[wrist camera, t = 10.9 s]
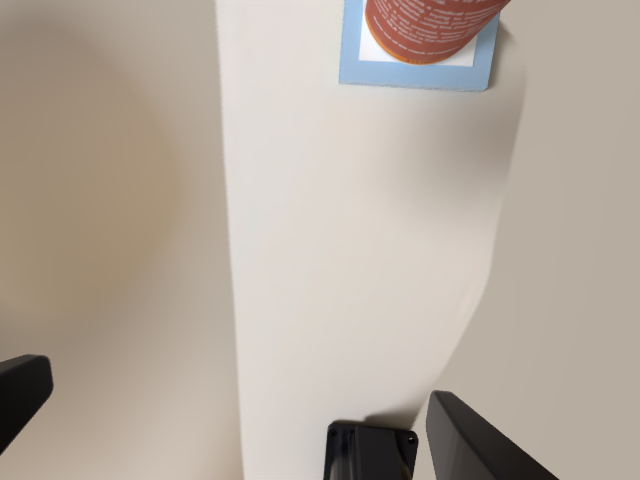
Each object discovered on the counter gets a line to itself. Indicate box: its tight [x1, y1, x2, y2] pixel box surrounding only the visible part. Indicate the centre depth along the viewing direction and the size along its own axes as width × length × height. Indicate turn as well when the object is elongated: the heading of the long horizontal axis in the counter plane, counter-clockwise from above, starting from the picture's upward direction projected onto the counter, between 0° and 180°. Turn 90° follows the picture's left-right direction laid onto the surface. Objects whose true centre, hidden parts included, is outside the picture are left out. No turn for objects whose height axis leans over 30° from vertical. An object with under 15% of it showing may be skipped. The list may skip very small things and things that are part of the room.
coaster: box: [339, 0, 500, 92], centre depth 16 cm, size 8×8×1 cm
